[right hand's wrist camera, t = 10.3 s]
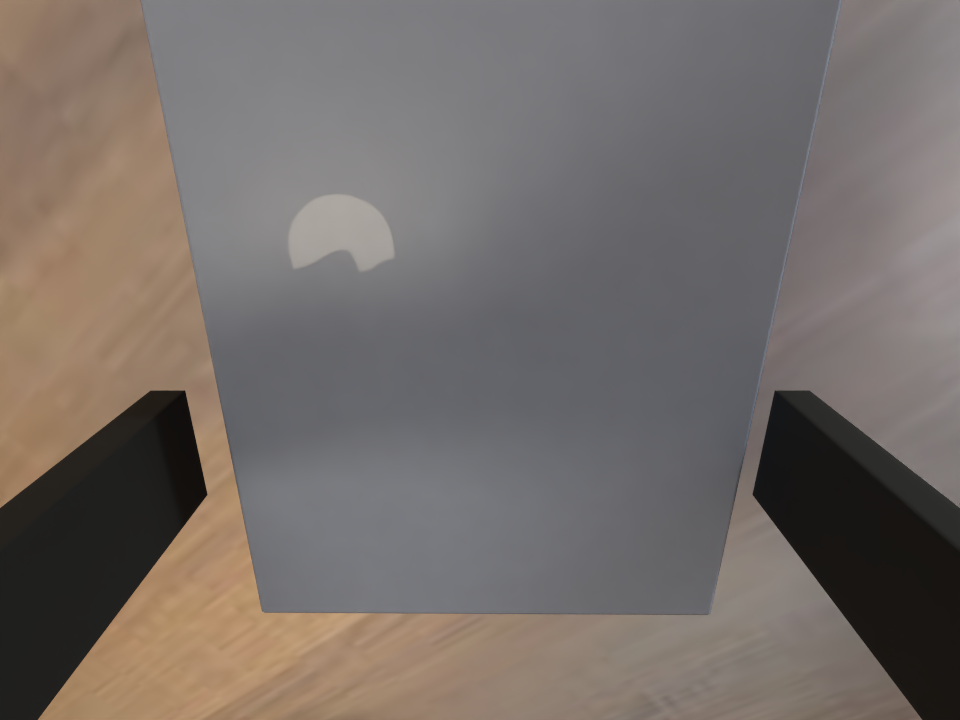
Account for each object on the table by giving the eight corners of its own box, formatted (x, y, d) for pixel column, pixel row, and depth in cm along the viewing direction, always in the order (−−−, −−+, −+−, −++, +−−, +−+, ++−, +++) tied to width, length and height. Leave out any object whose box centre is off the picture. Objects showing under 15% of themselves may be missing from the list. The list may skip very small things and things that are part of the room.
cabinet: (306, -91, 16) (60, -387, 7) (669, -91, 16) (928, -389, 7) (354, 408, 22) (260, 614, 13) (615, 409, 22) (711, 616, 13)
